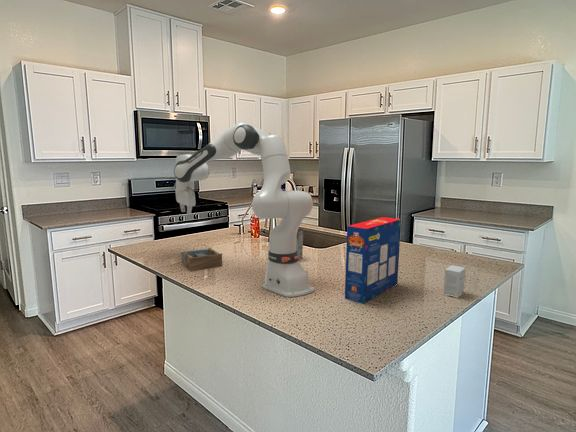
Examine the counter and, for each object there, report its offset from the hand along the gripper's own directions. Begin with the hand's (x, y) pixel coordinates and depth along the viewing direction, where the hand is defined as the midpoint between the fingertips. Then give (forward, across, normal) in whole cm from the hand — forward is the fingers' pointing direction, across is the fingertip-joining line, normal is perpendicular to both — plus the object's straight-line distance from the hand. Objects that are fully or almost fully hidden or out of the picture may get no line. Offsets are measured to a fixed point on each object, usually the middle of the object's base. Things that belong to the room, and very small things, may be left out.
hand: (186, 213), depth 197 cm
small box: (+23, -107, -71) cm, 130 cm away
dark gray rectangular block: (+23, -19, -1) cm, 30 cm away
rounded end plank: (+23, -10, -1) cm, 25 cm away
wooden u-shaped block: (+23, -18, -1) cm, 29 cm away
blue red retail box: (+23, -88, -46) cm, 102 cm away
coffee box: (+23, -32, -45) cm, 60 cm away
